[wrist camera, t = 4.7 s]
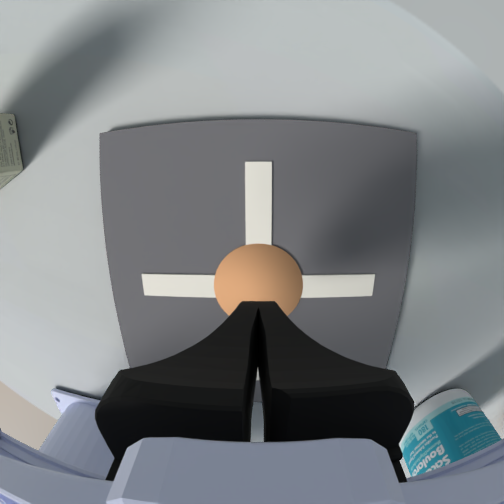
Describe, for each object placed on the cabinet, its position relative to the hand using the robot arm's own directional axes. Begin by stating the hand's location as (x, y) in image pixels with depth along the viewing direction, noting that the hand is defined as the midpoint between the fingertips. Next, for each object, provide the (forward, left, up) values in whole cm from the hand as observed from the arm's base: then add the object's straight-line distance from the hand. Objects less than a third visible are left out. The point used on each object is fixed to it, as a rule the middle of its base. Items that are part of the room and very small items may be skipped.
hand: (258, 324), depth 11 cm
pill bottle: (-13, -15, -5) cm, 20 cm away
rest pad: (0, 0, -4) cm, 4 cm away
